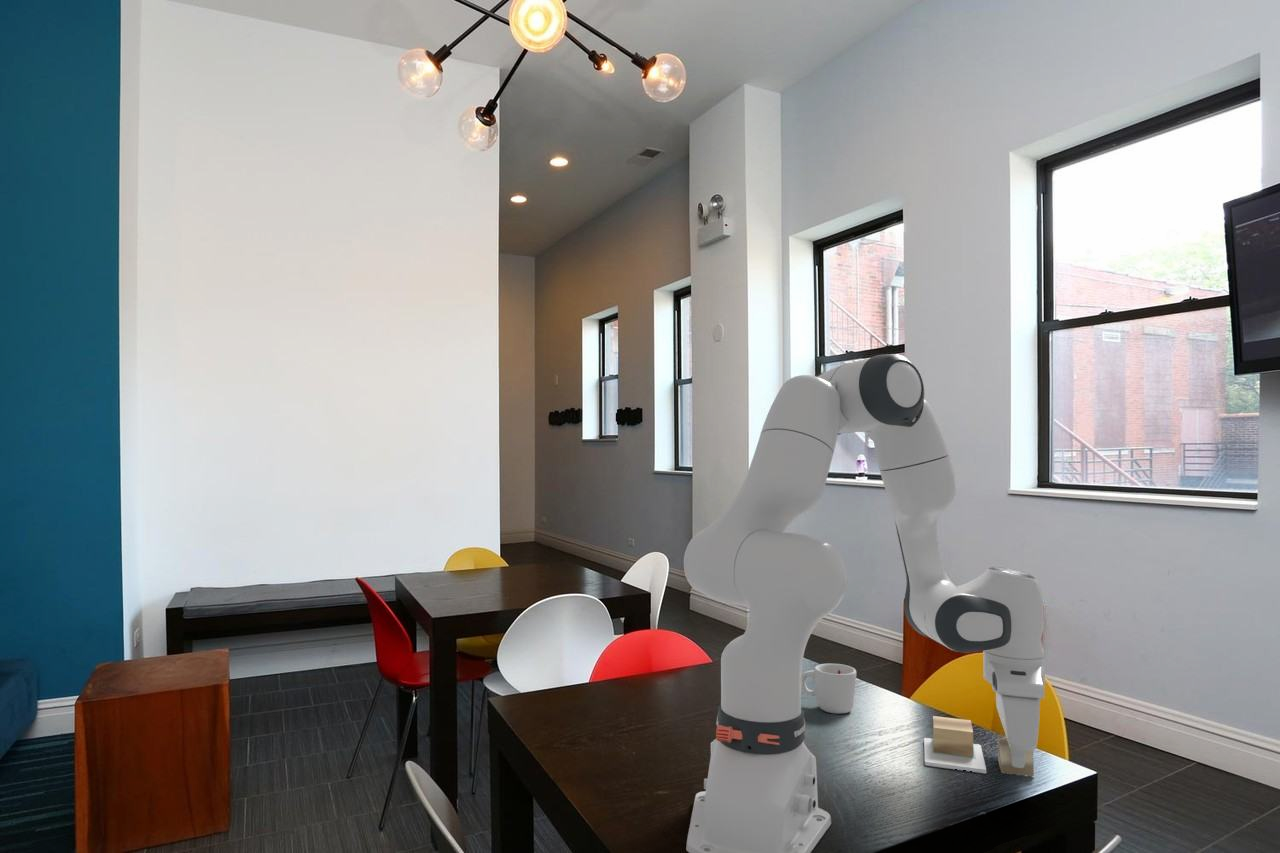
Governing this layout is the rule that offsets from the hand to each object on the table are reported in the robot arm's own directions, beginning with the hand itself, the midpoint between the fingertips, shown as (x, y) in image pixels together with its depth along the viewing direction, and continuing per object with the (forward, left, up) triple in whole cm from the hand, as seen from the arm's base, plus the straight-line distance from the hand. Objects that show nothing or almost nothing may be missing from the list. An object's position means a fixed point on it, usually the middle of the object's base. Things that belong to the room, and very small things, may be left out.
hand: (1015, 758), depth 119 cm
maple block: (0, 0, -2) cm, 2 cm away
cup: (+19, +31, -2) cm, 36 cm away
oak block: (+4, +9, -1) cm, 10 cm away
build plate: (+2, +9, -2) cm, 9 cm away
